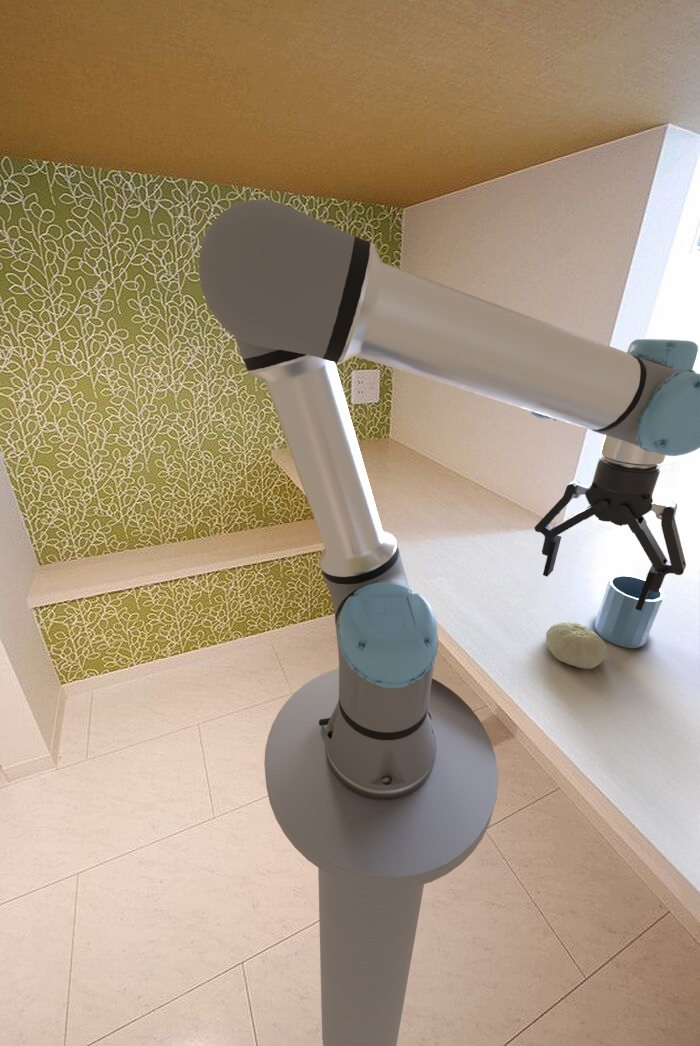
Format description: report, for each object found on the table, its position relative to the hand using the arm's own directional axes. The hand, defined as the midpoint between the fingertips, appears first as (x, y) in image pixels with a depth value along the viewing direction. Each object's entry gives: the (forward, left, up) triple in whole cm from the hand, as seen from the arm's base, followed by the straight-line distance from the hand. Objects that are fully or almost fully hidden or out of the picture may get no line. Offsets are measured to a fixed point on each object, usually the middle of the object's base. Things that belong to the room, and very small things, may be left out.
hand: (591, 588), depth 69 cm
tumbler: (+5, +12, -13) cm, 18 cm away
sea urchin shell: (0, 0, -13) cm, 13 cm away
